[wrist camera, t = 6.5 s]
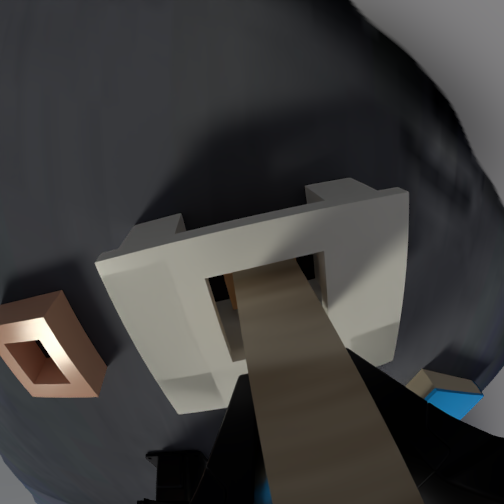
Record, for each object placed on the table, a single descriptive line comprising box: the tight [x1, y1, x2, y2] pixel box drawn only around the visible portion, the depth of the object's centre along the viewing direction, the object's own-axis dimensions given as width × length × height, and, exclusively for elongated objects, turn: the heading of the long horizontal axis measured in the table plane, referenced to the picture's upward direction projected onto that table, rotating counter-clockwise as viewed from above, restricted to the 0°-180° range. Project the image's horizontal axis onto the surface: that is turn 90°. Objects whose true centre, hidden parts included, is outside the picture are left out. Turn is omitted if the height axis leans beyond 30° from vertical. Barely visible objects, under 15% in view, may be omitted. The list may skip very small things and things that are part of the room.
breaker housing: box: [95, 178, 409, 414], centre depth 14 cm, size 9×12×6 cm
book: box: [405, 369, 484, 420], centre depth 29 cm, size 17×4×25 cm
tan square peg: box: [232, 258, 424, 504], centre depth 8 cm, size 3×3×12 cm
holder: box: [0, 290, 107, 398], centre depth 16 cm, size 7×7×3 cm
